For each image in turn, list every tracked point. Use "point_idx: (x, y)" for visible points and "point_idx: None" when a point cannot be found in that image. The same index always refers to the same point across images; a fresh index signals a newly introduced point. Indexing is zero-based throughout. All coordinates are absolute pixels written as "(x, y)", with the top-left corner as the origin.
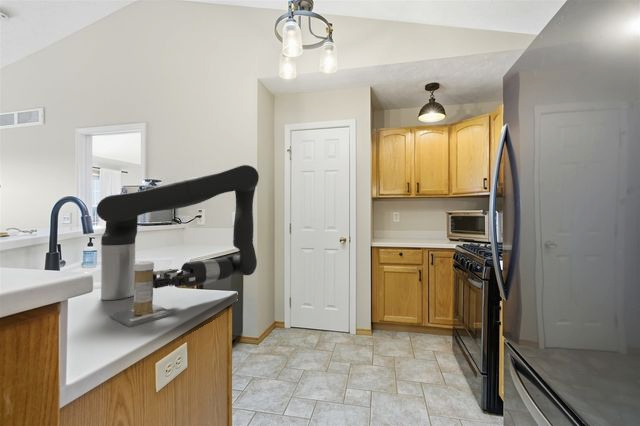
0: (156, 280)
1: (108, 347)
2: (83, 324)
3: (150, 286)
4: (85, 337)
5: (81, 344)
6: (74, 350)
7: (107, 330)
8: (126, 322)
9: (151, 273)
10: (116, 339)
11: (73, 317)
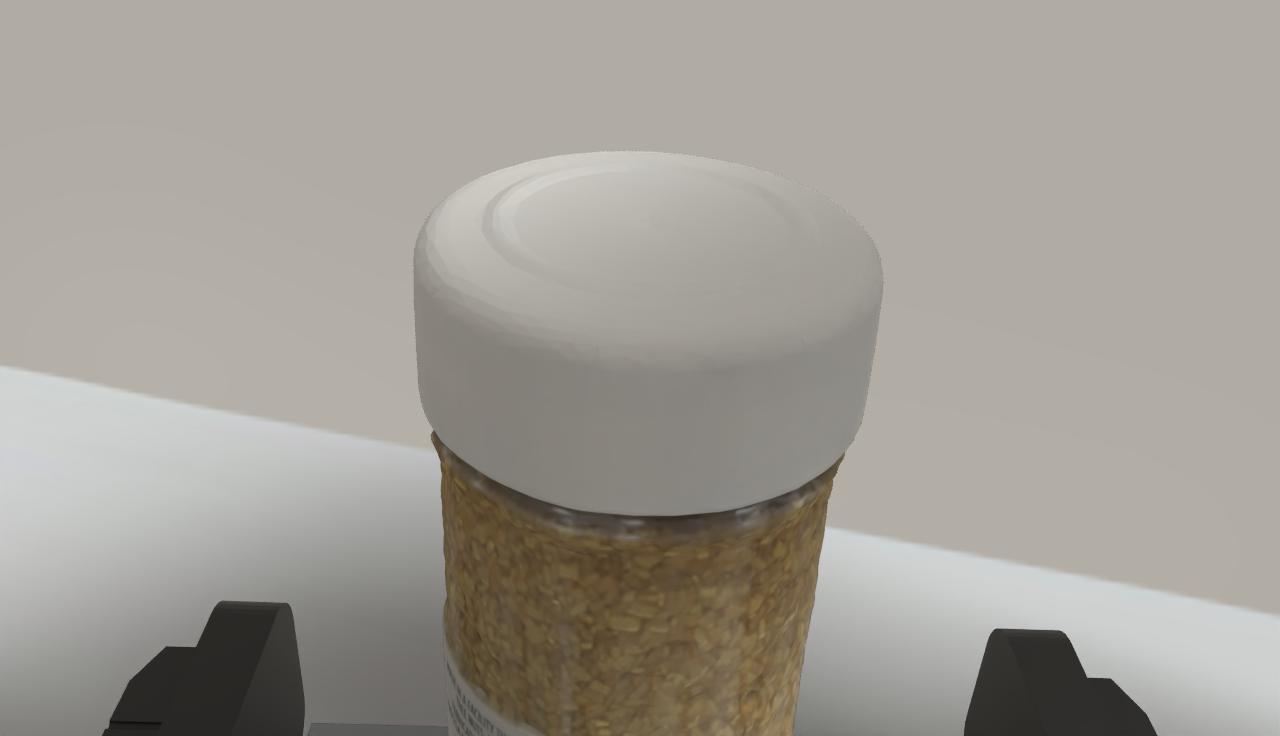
0: (209, 630)
1: (50, 512)
2: (829, 575)
3: (452, 731)
4: None
5: (322, 459)
6: (259, 421)
7: None
8: (420, 734)
9: (456, 522)
10: (135, 582)
11: (1158, 591)
